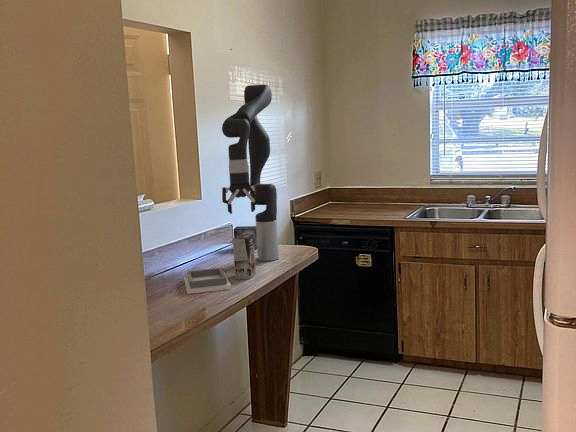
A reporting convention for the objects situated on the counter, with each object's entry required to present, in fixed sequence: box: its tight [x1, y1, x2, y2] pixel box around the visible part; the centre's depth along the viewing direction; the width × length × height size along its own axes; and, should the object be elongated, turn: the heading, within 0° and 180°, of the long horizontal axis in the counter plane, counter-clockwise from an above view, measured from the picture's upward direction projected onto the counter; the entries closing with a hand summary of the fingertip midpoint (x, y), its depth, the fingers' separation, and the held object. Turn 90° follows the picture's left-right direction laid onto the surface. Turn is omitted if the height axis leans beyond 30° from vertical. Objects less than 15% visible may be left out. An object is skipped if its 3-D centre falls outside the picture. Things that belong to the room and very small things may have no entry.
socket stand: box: [183, 267, 232, 295], centre depth 228 cm, size 19×16×4 cm
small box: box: [232, 225, 258, 251], centre depth 288 cm, size 11×6×10 cm, turn 80°
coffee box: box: [232, 234, 257, 280], centre depth 237 cm, size 9×6×16 cm
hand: (241, 212), depth 234 cm, fingers open, 8 cm apart
